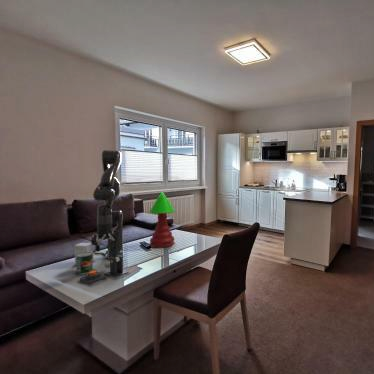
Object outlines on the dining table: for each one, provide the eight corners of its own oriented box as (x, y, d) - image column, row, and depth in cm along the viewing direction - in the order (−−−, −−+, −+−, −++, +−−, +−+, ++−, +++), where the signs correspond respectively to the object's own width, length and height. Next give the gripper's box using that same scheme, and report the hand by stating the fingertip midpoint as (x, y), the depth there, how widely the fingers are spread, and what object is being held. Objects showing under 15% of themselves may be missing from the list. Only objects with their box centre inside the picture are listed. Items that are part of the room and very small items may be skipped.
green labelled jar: (93, 261, 155) (93, 242, 155) (87, 265, 149) (86, 245, 148) (81, 261, 156) (81, 242, 155) (74, 265, 149) (74, 245, 148)
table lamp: (144, 244, 193) (144, 191, 191) (165, 239, 210) (165, 190, 207) (158, 249, 182) (158, 193, 180) (179, 243, 198) (179, 191, 196)
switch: (104, 269, 139) (102, 264, 139) (109, 267, 141) (107, 262, 142) (116, 262, 134) (114, 257, 134) (121, 260, 137) (119, 255, 137)
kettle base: (104, 275, 135) (104, 257, 134) (117, 270, 142) (116, 253, 142) (115, 279, 131) (115, 260, 130) (128, 273, 138) (128, 256, 138)
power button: (87, 275, 127) (87, 272, 127) (94, 272, 130) (94, 269, 130) (91, 276, 126) (91, 273, 126) (98, 274, 129) (98, 270, 129)
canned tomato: (82, 269, 143) (81, 251, 142) (95, 269, 144) (95, 251, 143) (73, 274, 135) (72, 256, 135) (87, 274, 136) (87, 256, 135)
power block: (79, 282, 127) (79, 274, 126) (94, 276, 134) (94, 269, 134) (91, 286, 123) (91, 278, 122) (106, 279, 130) (105, 272, 130)
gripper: (111, 219, 145) (112, 244, 146) (88, 223, 132) (88, 251, 133) (120, 220, 142) (120, 246, 143) (96, 225, 129) (97, 253, 130)
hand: (105, 249), depth 138 cm, fingers open, 8 cm apart
